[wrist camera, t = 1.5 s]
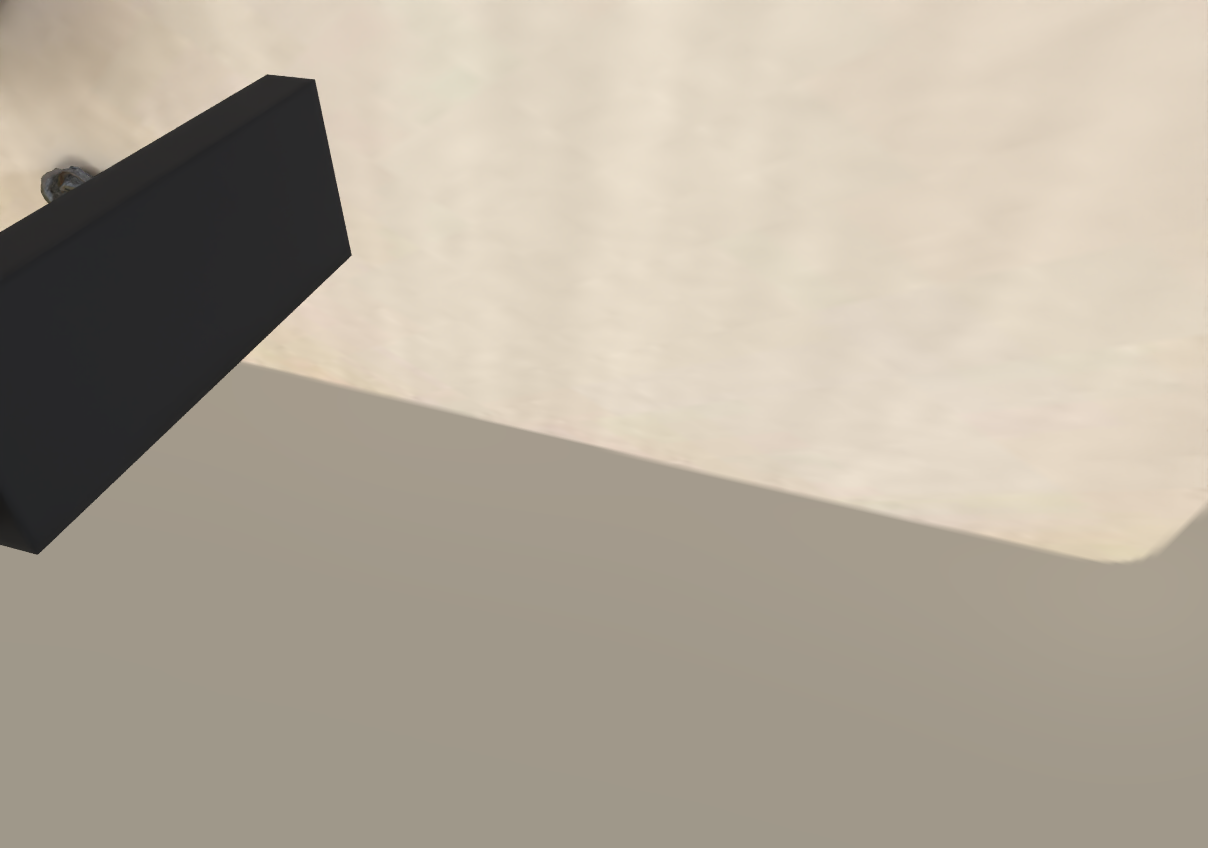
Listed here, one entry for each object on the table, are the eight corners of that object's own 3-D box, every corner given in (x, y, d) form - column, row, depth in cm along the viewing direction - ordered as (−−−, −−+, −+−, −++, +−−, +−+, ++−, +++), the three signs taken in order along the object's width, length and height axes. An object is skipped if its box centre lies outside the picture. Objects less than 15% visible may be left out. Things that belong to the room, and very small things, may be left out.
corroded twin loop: (34, 147, 51) (22, 158, 50) (168, 179, 50) (158, 191, 49) (70, 218, 55) (59, 230, 54) (195, 249, 54) (186, 261, 53)
